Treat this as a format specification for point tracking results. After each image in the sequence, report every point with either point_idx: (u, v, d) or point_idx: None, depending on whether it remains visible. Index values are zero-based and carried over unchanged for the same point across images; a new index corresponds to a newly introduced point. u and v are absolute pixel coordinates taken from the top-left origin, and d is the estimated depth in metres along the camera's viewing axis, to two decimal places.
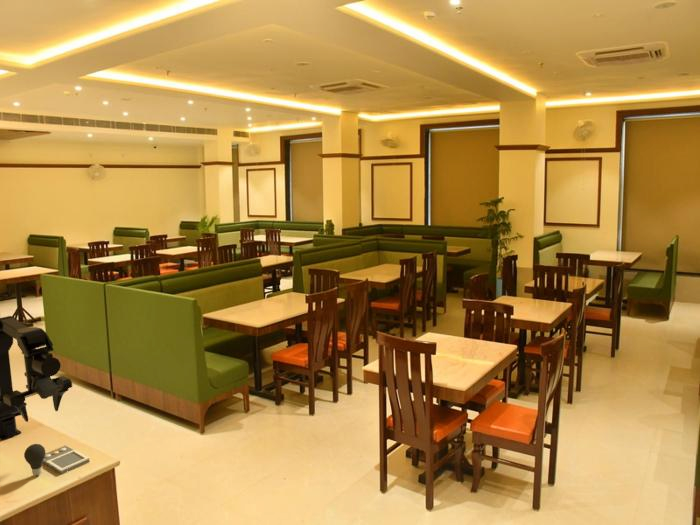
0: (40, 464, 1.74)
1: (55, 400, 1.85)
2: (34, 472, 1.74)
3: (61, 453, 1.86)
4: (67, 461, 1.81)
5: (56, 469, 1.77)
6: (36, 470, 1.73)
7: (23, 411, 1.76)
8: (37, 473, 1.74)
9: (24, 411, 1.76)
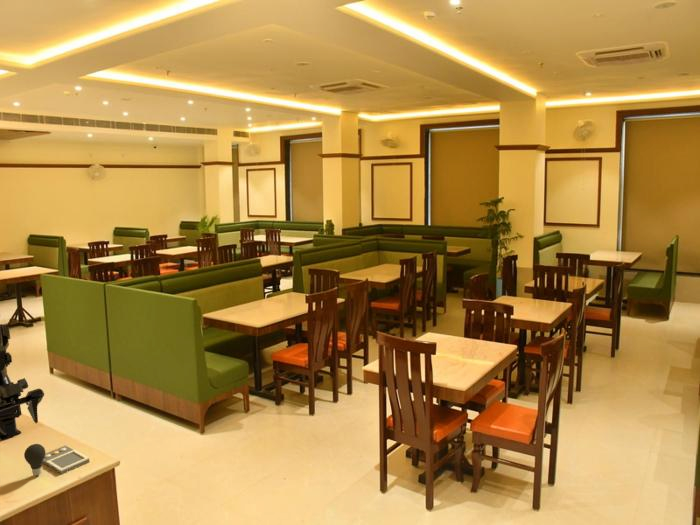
0: (40, 464, 1.74)
1: (32, 413, 1.81)
2: (34, 472, 1.74)
3: (61, 453, 1.86)
4: (67, 461, 1.81)
5: (56, 469, 1.77)
6: (36, 470, 1.73)
7: None
8: (37, 473, 1.74)
9: None
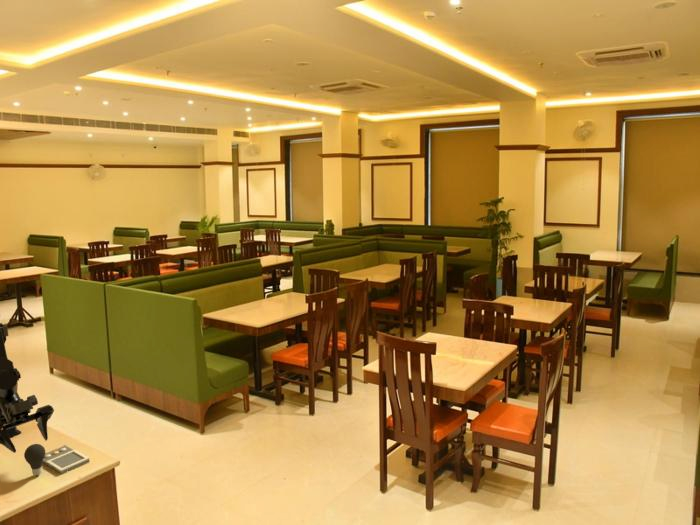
0: (40, 464, 1.74)
1: (42, 430, 1.79)
2: (34, 472, 1.74)
3: (61, 453, 1.86)
4: (67, 461, 1.81)
5: (56, 469, 1.77)
6: (36, 470, 1.73)
7: (6, 439, 1.70)
8: (37, 473, 1.74)
9: (8, 439, 1.70)
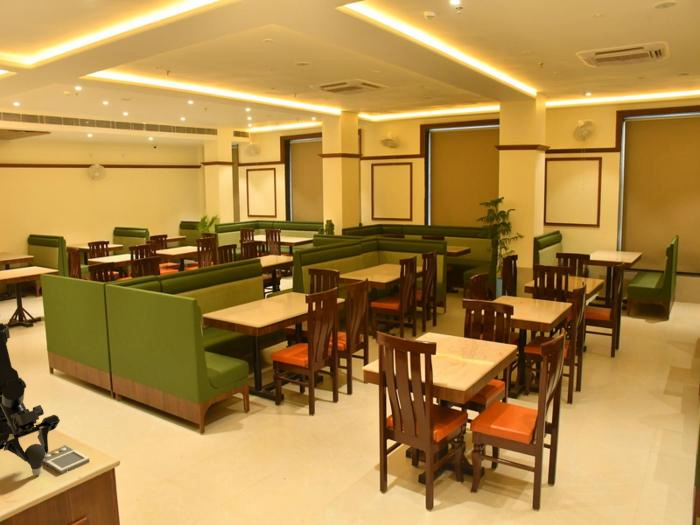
0: (40, 464, 1.74)
1: (42, 442, 1.76)
2: (34, 472, 1.74)
3: (61, 453, 1.86)
4: (67, 461, 1.81)
5: (56, 469, 1.77)
6: (36, 470, 1.73)
7: (18, 448, 1.70)
8: (37, 473, 1.74)
9: (19, 448, 1.70)
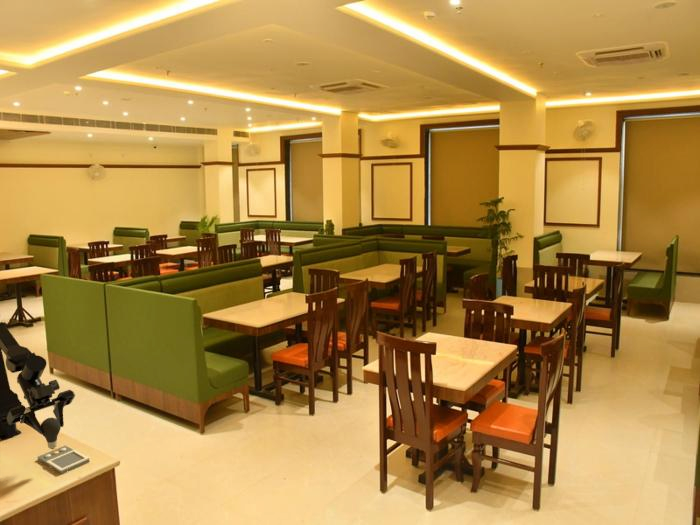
0: (55, 437, 1.76)
1: (58, 416, 1.79)
2: (49, 445, 1.76)
3: (61, 453, 1.86)
4: (67, 461, 1.81)
5: (56, 469, 1.77)
6: (51, 443, 1.76)
7: (34, 421, 1.73)
8: (52, 446, 1.76)
9: (35, 421, 1.73)
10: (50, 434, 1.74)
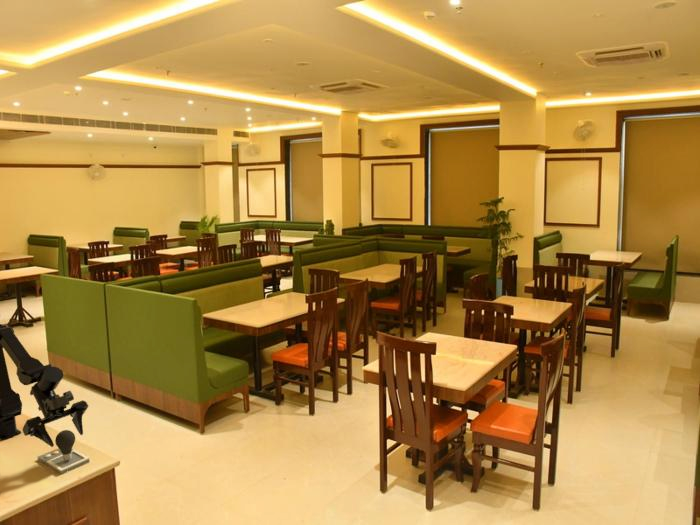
0: (70, 449, 1.80)
1: (77, 425, 1.84)
2: (64, 457, 1.80)
3: (61, 453, 1.86)
4: (67, 461, 1.81)
5: (56, 469, 1.77)
6: (66, 455, 1.80)
7: (45, 434, 1.75)
8: (67, 458, 1.80)
9: (46, 434, 1.75)
10: (65, 446, 1.78)
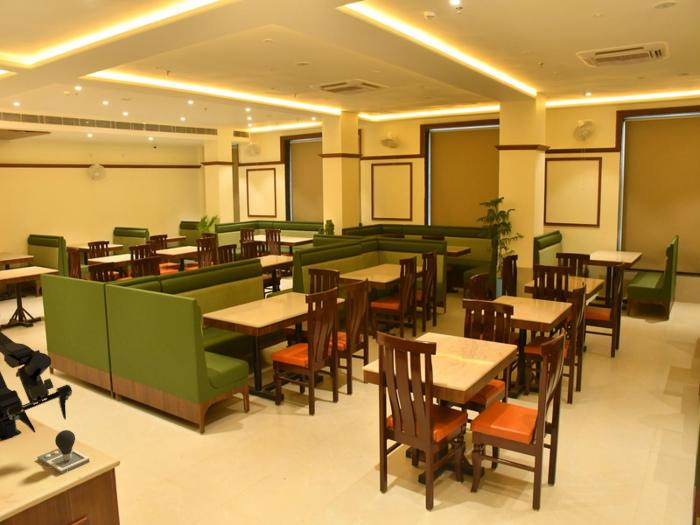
0: (70, 449, 1.80)
1: (61, 409, 1.88)
2: (64, 457, 1.80)
3: (61, 453, 1.86)
4: (67, 461, 1.81)
5: (56, 469, 1.77)
6: (66, 455, 1.80)
7: (26, 421, 1.81)
8: (67, 458, 1.80)
9: (27, 421, 1.81)
10: (65, 446, 1.78)
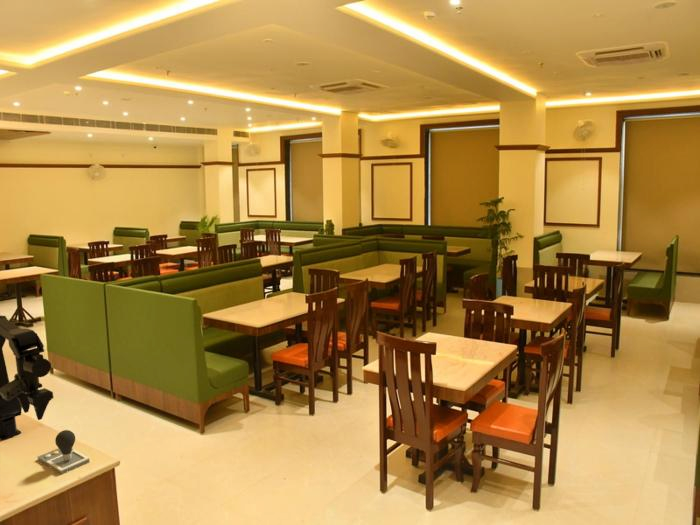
0: (70, 449, 1.80)
1: None
2: (64, 457, 1.80)
3: (61, 453, 1.86)
4: (67, 461, 1.81)
5: (56, 469, 1.77)
6: (66, 455, 1.80)
7: (19, 401, 1.88)
8: (67, 458, 1.80)
9: (19, 401, 1.87)
10: (65, 446, 1.78)
